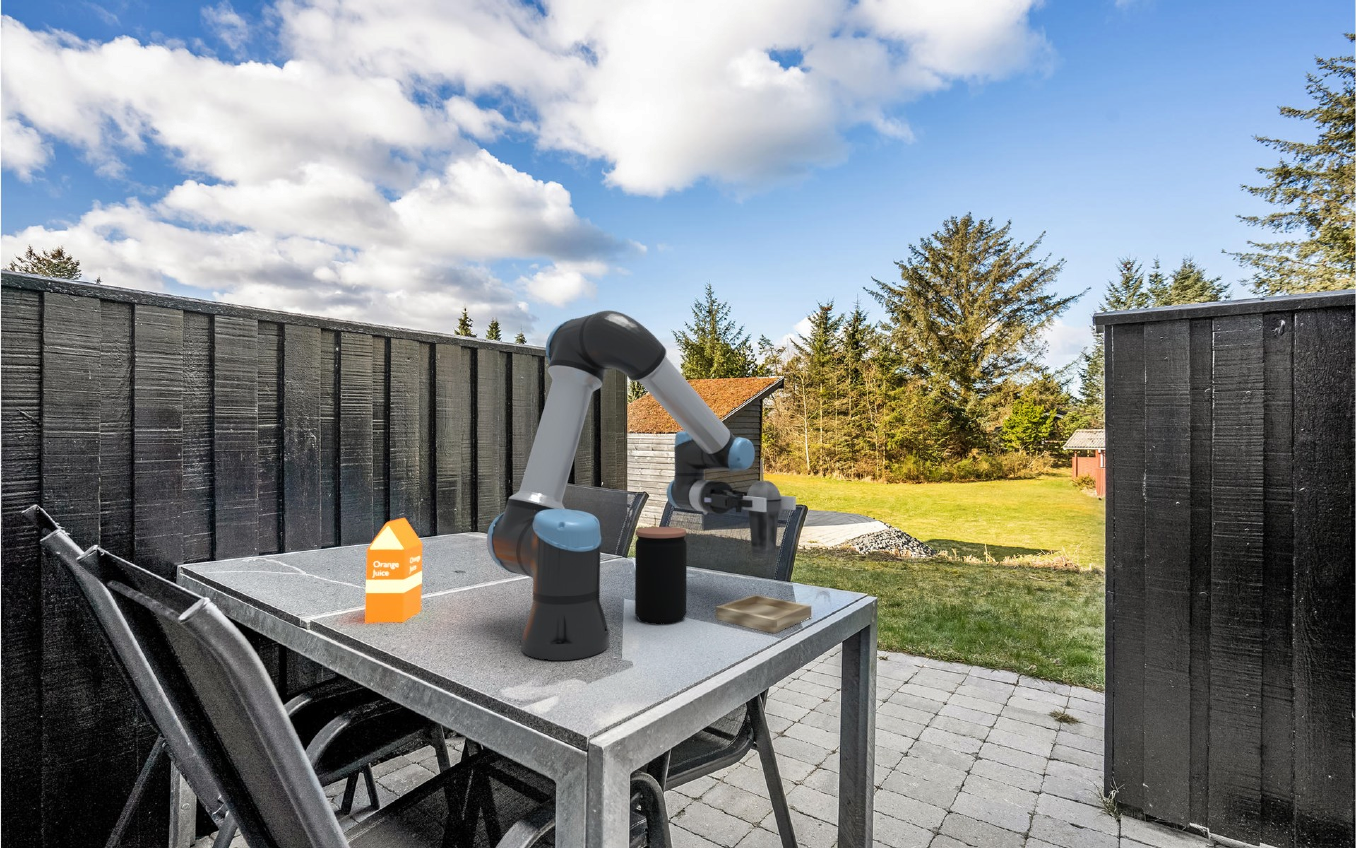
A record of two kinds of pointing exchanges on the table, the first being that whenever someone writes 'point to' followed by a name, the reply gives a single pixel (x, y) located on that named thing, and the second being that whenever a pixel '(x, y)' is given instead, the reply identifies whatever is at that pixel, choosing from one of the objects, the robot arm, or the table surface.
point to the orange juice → (393, 574)
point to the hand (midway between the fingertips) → (779, 504)
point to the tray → (763, 613)
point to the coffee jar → (660, 575)
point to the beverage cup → (764, 518)
